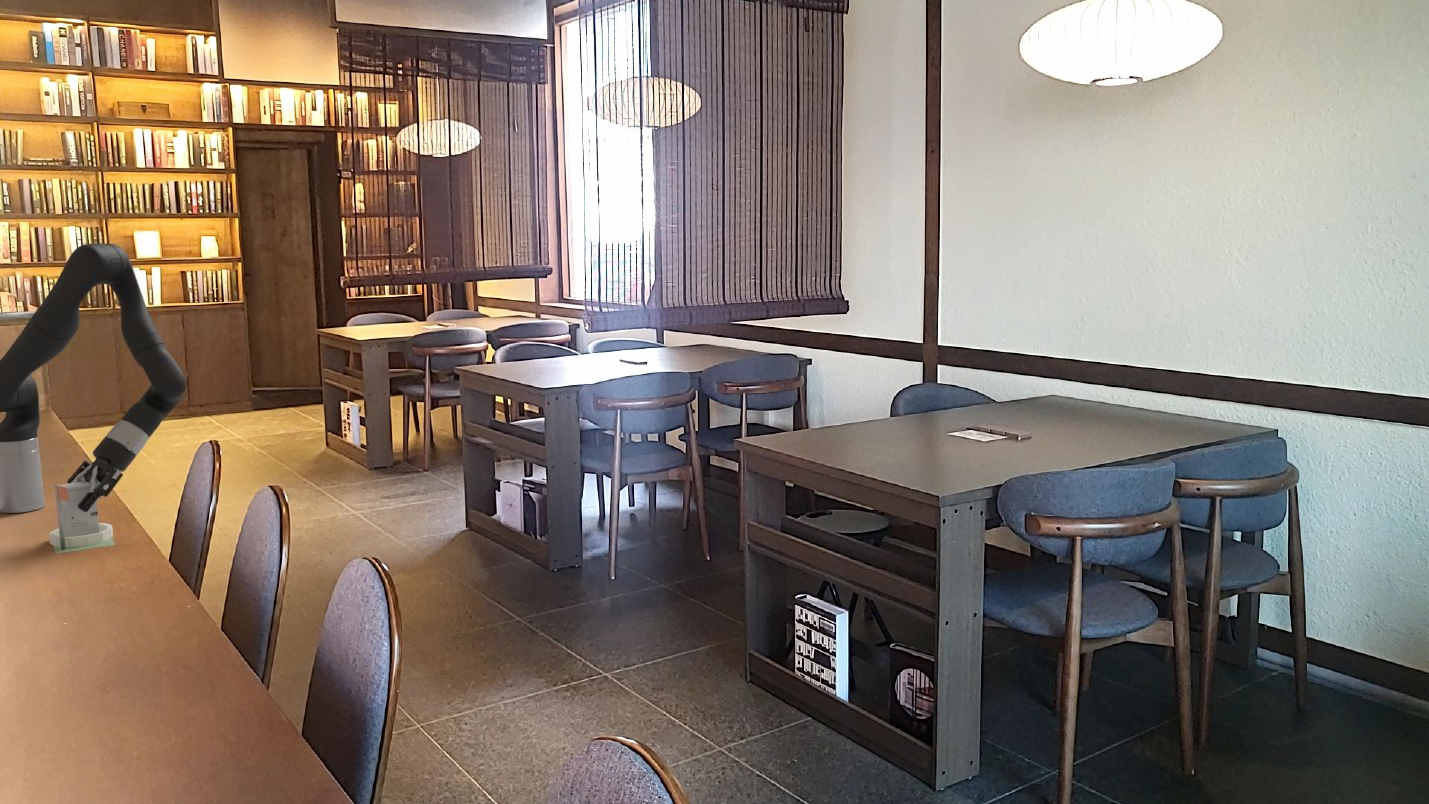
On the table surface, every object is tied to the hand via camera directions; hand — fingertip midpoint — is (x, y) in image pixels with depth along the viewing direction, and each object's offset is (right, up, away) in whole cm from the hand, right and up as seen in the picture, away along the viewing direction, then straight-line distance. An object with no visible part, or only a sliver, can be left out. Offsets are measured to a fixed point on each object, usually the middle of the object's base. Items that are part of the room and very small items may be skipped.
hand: (72, 506), depth 236 cm
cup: (+1, -7, +2) cm, 8 cm away
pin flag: (+3, -9, -7) cm, 11 cm away
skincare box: (+1, -7, +3) cm, 8 cm away
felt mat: (+1, -8, +2) cm, 8 cm away
